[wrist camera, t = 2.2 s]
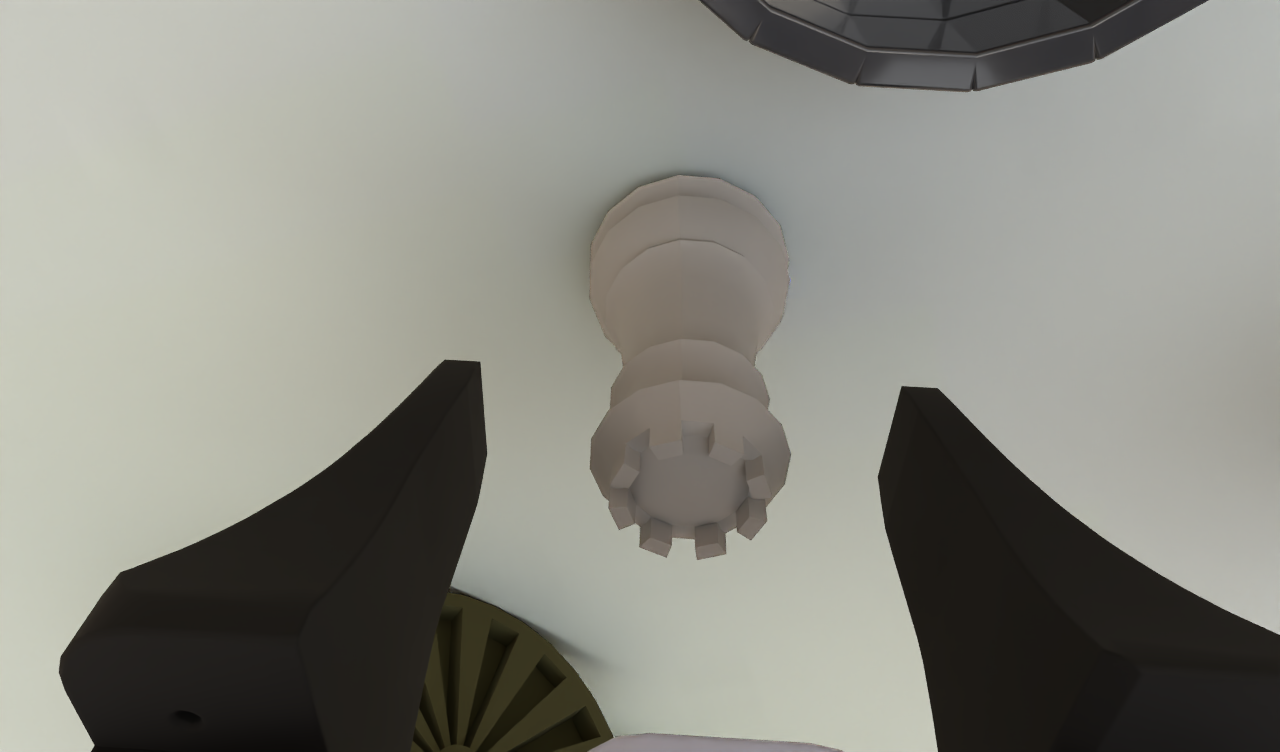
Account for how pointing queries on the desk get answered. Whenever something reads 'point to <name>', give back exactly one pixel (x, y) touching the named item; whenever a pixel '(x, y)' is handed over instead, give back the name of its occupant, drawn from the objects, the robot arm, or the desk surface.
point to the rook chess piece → (689, 361)
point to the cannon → (501, 688)
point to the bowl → (944, 36)
